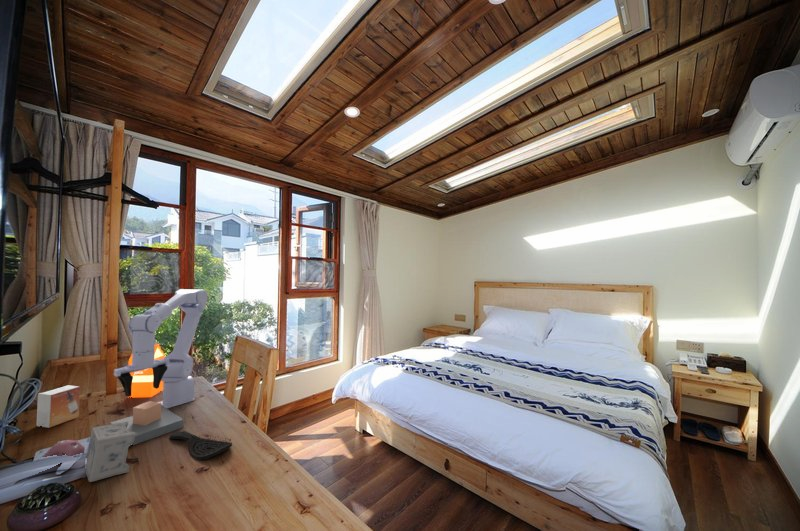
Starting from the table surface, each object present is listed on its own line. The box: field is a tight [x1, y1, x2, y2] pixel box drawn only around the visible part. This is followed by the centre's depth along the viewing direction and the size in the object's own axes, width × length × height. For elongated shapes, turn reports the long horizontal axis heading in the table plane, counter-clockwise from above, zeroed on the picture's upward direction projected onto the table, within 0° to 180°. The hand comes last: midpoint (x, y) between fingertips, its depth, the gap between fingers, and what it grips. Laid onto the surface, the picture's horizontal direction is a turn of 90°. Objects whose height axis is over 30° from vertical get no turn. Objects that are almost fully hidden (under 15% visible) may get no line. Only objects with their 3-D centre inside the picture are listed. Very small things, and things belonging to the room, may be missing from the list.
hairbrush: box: [169, 430, 233, 461], centre depth 90 cm, size 8×4×25 cm
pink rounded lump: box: [41, 439, 86, 457], centre depth 80 cm, size 10×5×7 cm, turn 72°
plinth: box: [109, 406, 184, 446], centre depth 99 cm, size 14×16×2 cm
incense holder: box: [85, 422, 135, 483], centre depth 79 cm, size 10×8×10 cm
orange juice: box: [127, 343, 165, 399], centre depth 126 cm, size 8×9×20 cm
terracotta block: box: [132, 400, 162, 426], centre depth 99 cm, size 5×5×5 cm
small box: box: [36, 384, 81, 429], centre depth 103 cm, size 8×6×10 cm
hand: (142, 391), depth 103 cm, fingers open, 7 cm apart
